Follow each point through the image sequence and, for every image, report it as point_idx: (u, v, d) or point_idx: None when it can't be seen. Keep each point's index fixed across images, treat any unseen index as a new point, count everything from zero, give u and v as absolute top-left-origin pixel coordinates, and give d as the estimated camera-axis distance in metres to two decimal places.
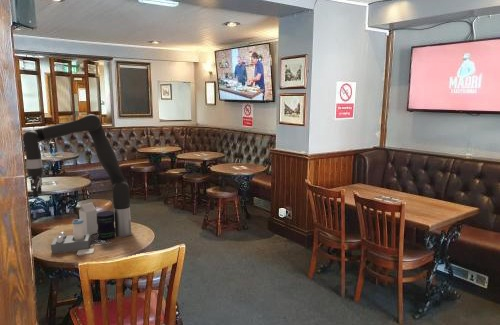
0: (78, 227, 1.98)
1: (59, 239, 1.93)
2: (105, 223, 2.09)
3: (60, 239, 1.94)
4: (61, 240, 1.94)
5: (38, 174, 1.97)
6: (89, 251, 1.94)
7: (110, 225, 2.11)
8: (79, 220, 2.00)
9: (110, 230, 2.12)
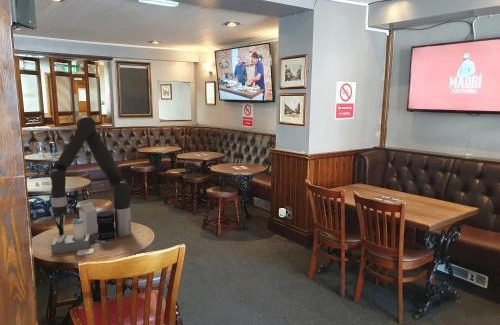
0: (78, 227, 1.98)
1: (59, 239, 1.93)
2: (105, 223, 2.09)
3: (60, 239, 1.94)
4: (61, 240, 1.94)
5: (63, 212, 1.97)
6: (89, 251, 1.94)
7: (110, 225, 2.11)
8: (79, 220, 2.00)
9: (110, 230, 2.12)
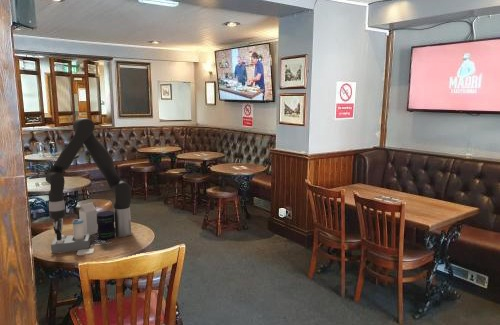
0: (78, 226, 1.98)
1: (59, 242, 1.94)
2: (105, 223, 2.09)
3: (60, 242, 1.94)
4: None
5: (60, 216, 1.90)
6: (89, 251, 1.94)
7: (110, 225, 2.11)
8: (79, 220, 2.00)
9: (110, 230, 2.12)
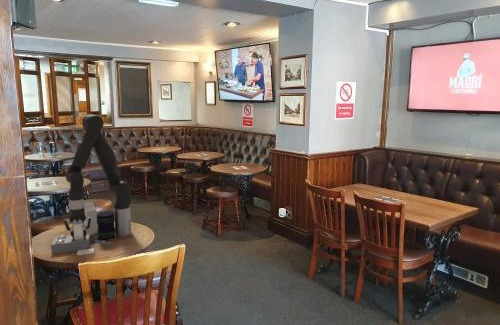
0: (78, 227, 1.98)
1: None
2: (105, 223, 2.09)
3: None
4: None
5: (70, 215, 1.96)
6: (89, 251, 1.94)
7: (110, 225, 2.11)
8: None
9: (110, 230, 2.12)
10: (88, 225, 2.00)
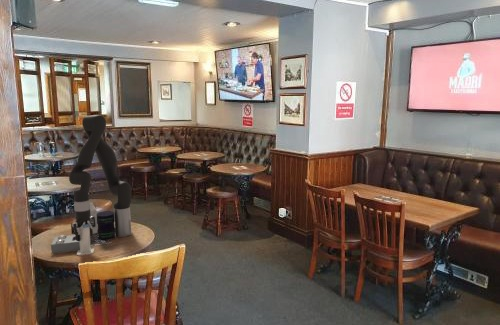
0: (88, 229, 1.91)
1: None
2: (105, 223, 2.09)
3: None
4: None
5: (81, 217, 1.87)
6: None
7: (110, 225, 2.11)
8: None
9: (110, 230, 2.12)
10: (94, 223, 1.97)
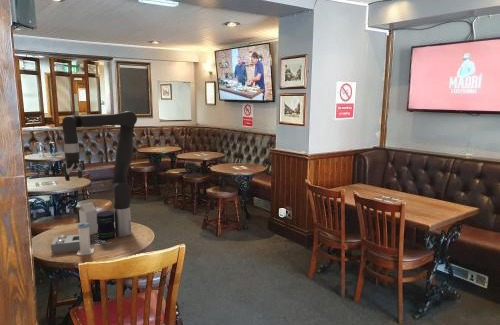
0: (87, 230, 1.91)
1: None
2: (105, 223, 2.09)
3: None
4: None
5: (70, 158, 2.01)
6: None
7: (110, 225, 2.11)
8: (84, 224, 1.92)
9: (110, 230, 2.12)
10: (83, 167, 2.11)
